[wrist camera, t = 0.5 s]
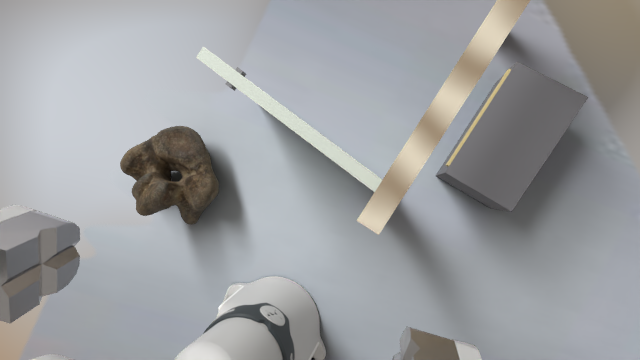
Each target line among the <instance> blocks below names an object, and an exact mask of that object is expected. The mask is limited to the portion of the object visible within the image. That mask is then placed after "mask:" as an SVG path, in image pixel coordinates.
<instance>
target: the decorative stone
mask: <svg viewBox="0 0 640 360" xmlns="http://www.w3.org/2000/svg"><path fill="white" fill-rule="evenodd" d="M120 166H121V169H122V171H123V172H124V173H125V174H127V175H130V176H132V177H133V178H134V179H135V180H136V181H137V182H136V183H135V184H134V186H133V188H132V194H133V196H134V197H135V199H136V210H137V212H138V213H139V214H140V215H143V216H147V215H151V214H154V213H156V212H158V211H161V210H163V209H167V208H169V207H171V206H173V205H176V206H178V208H179V210H180V213H181V217H182V218H183V220H184V221H185V222H186V223H187V224H190V225H192V224H195V223H197V221H198V219H199V217H200V215H201V214H202V212H203V211H204V209H205V208H206V207H207V206H208V205H209V204H210V203H211V202H212V201H213V199H214V198H215V197H216V196H217V194H218V192H219V182H218V180H217V178H216V176H215V174H214V172H213V169H212V167H211V158H210V155H209V153H208V151H207V149H206V147H205V144H204V142H203V140H202V138H201V137H200V135H199V134H198V133H197V132H196V131H194V130H193V129H191V128H188V127H184V126H175V127H170V128H167V129H164V130H162V131H160V132H159V133H158V134H157V135H155V136H153V137H151V138H150V139H149V140H147V141H145V142H143V143H141V144H139V145H137V146H135V147H133V148H131V149H130V150H128V151H127V153H126V154H125V155H124V156H123V158H122V160H121V163H120ZM171 171H178V172H180V173H181V174H182V179H181V180H180V181H179V182H173V181H171Z"/></svg>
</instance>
